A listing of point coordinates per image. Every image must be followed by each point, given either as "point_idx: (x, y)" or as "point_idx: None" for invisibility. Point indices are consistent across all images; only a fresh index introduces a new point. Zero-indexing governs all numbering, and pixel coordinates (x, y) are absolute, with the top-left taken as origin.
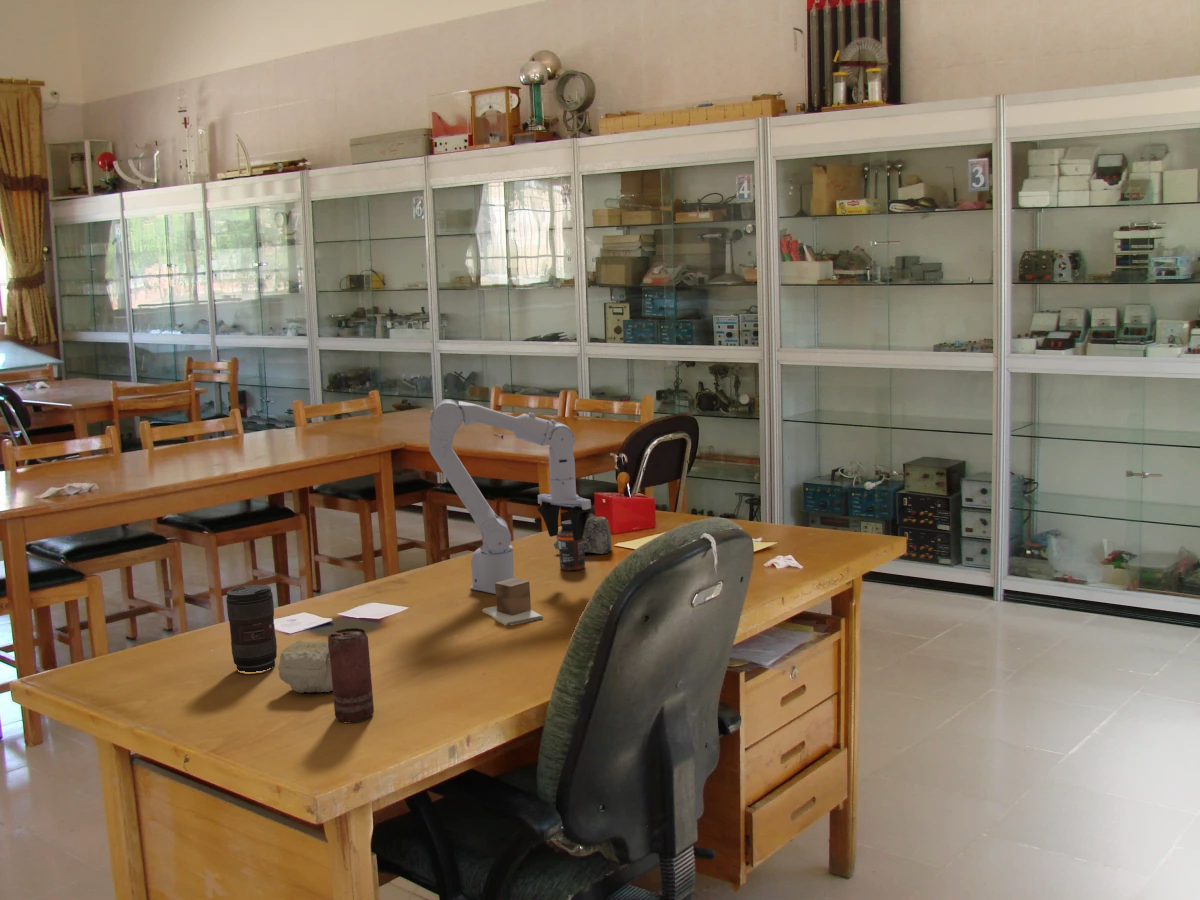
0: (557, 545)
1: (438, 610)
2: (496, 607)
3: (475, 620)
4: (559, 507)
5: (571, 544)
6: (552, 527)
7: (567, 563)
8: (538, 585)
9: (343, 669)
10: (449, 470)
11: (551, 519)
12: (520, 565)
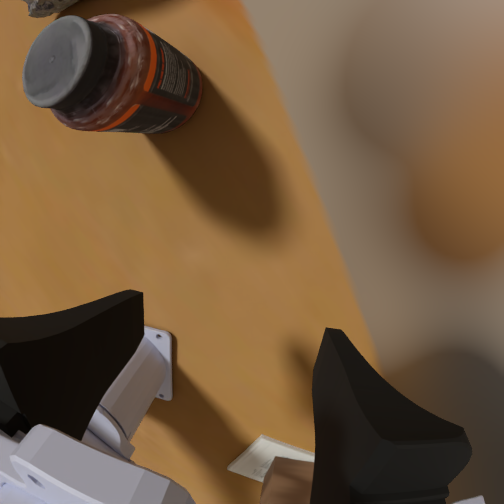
0: (39, 13)
1: (157, 464)
2: (245, 465)
3: (250, 488)
4: (28, 348)
5: (143, 114)
6: (120, 350)
7: (160, 130)
8: (193, 304)
9: None
10: None
11: (91, 380)
12: (31, 151)
